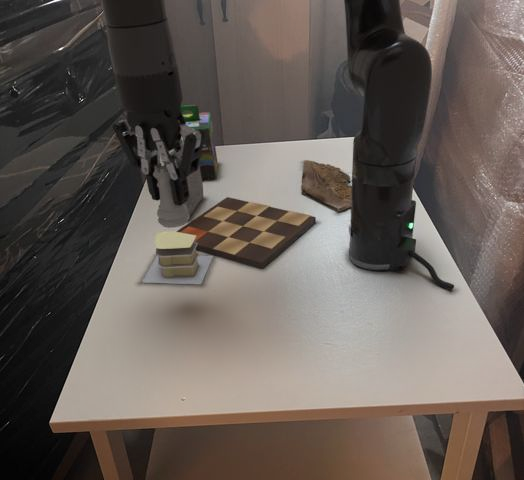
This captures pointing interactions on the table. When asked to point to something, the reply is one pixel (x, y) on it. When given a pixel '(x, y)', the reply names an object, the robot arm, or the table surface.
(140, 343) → the table surface
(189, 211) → the decorative stone
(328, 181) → the wooden fragment
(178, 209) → the rook chess piece
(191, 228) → the game board
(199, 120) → the chalk box
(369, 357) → the table surface
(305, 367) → the table surface
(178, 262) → the stacked layers on plate
